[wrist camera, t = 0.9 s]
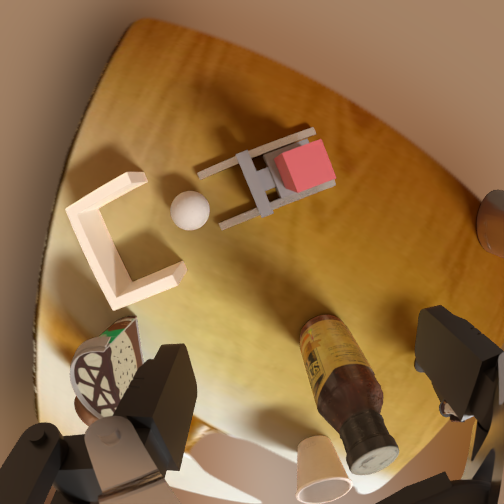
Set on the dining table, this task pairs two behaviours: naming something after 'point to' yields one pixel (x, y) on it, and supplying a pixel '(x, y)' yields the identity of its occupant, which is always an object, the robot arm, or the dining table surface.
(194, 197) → the sports ball
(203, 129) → the dining table surface
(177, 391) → the robot arm
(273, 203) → the track
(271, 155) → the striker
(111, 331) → the food container
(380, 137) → the dining table surface
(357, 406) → the sauce bottle
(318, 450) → the dixie cup
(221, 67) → the dining table surface
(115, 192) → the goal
